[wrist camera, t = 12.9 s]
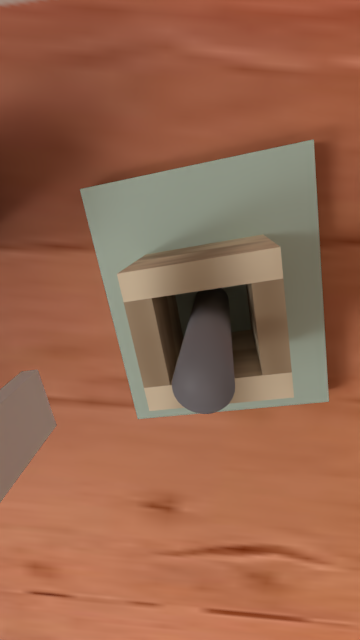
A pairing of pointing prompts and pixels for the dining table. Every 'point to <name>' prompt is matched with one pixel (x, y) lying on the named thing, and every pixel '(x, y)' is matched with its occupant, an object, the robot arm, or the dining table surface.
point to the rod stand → (228, 302)
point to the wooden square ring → (204, 274)
